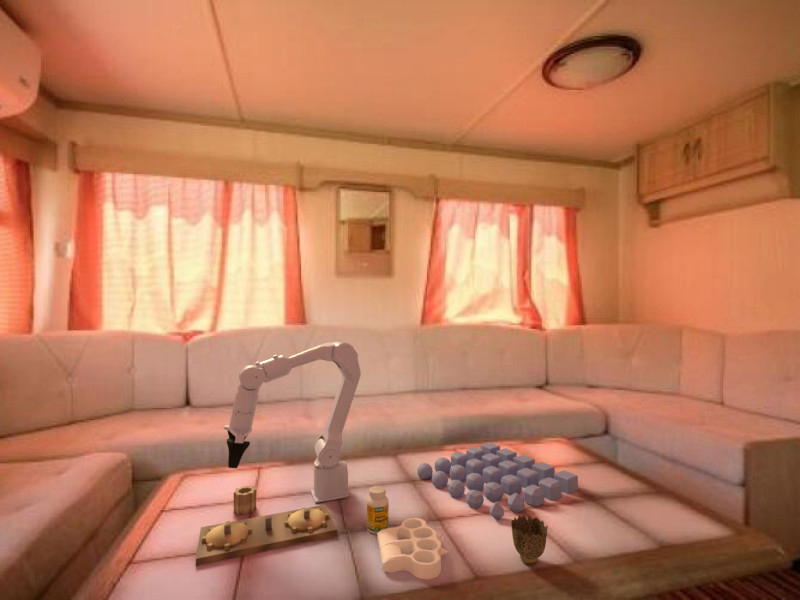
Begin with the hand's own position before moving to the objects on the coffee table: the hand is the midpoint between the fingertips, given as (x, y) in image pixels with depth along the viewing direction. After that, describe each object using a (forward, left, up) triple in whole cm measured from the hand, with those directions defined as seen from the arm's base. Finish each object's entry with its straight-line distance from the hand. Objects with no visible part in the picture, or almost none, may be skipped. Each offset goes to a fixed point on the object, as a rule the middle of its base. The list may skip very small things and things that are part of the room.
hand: (232, 462), depth 108 cm
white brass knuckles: (-37, +34, -14) cm, 52 cm away
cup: (-59, +46, -13) cm, 76 cm away
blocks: (-74, +11, -14) cm, 76 cm away
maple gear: (-3, 0, -13) cm, 13 cm away
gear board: (-8, +15, -13) cm, 21 cm away
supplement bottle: (-33, +22, -13) cm, 42 cm away
